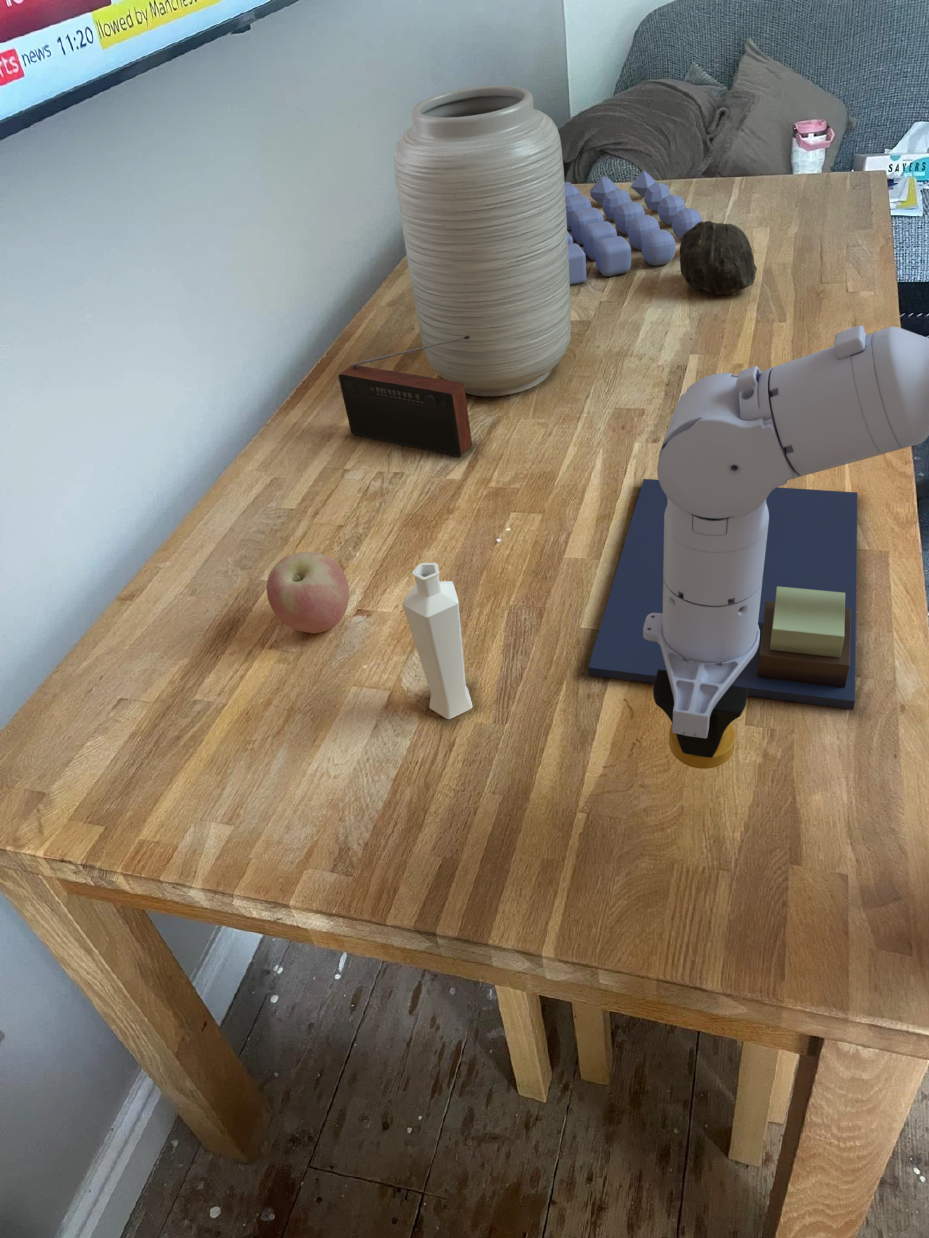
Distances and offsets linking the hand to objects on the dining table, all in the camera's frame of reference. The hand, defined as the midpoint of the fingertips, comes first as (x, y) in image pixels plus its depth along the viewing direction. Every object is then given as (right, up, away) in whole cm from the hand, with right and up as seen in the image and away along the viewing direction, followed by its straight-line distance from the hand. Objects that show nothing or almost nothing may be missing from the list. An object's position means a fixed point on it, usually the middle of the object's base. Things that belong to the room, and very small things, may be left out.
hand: (702, 728), depth 65 cm
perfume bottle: (-17, 0, +19) cm, 25 cm away
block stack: (+13, +4, +16) cm, 21 cm away
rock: (+21, +57, +76) cm, 97 cm away
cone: (0, -1, +1) cm, 2 cm away
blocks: (+5, +72, +96) cm, 120 cm away
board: (+10, +11, +26) cm, 30 cm away
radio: (-22, +29, +53) cm, 65 cm away
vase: (-11, +41, +64) cm, 77 cm away
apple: (-31, +7, +29) cm, 43 cm away
